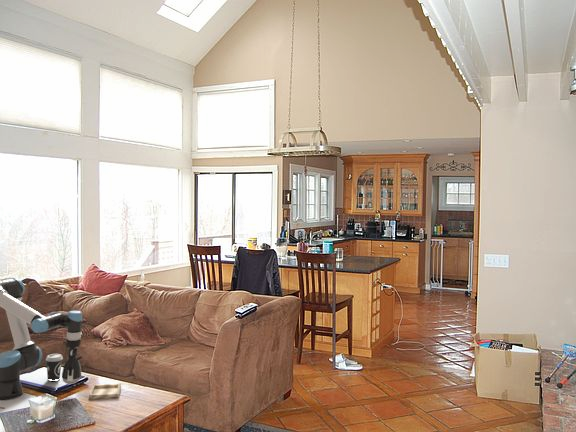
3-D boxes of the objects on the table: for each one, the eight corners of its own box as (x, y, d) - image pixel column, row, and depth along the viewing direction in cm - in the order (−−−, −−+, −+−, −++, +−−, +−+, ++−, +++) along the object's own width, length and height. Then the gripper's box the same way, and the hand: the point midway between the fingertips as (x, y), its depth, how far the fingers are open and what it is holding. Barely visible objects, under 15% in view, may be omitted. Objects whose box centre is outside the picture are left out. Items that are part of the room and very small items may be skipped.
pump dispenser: (83, 384, 291) (84, 357, 290) (63, 386, 285) (64, 359, 285) (79, 378, 299) (80, 352, 299) (59, 380, 294) (61, 354, 293)
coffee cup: (56, 376, 320) (57, 352, 319) (65, 380, 314) (66, 355, 314) (41, 380, 312) (42, 355, 312) (50, 384, 306) (51, 359, 306)
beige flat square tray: (88, 399, 287) (88, 395, 287) (92, 388, 303) (92, 384, 302) (118, 398, 291) (119, 393, 291) (120, 387, 307) (121, 383, 306)
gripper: (77, 344, 281) (75, 384, 282) (83, 333, 303) (81, 370, 304) (63, 344, 279) (60, 385, 280) (69, 333, 301) (67, 370, 302)
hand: (71, 377), depth 292 cm, fingers closed on pump dispenser, 10 cm apart
